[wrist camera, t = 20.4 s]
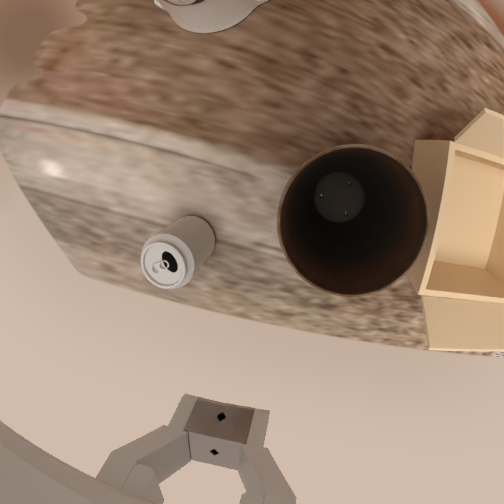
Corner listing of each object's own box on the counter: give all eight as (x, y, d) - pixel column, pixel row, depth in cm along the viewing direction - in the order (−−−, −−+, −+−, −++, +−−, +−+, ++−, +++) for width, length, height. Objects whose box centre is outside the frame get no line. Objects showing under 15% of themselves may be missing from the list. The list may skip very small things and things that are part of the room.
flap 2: (518, 305, 31) (516, 307, 31) (422, 295, 33) (420, 298, 33) (531, 348, 26) (528, 350, 26) (430, 347, 28) (428, 349, 28)
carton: (415, 139, 38) (450, 140, 27) (508, 167, 36) (553, 178, 24) (394, 258, 44) (418, 294, 33) (484, 271, 42) (519, 305, 31)
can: (225, 249, 48) (200, 283, 37) (185, 266, 51) (154, 301, 39) (202, 206, 47) (170, 227, 36) (163, 226, 49) (125, 251, 38)
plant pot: (370, 130, 39) (405, 124, 24) (401, 228, 43) (441, 270, 28) (271, 164, 43) (252, 176, 28) (307, 259, 47) (306, 314, 32)
